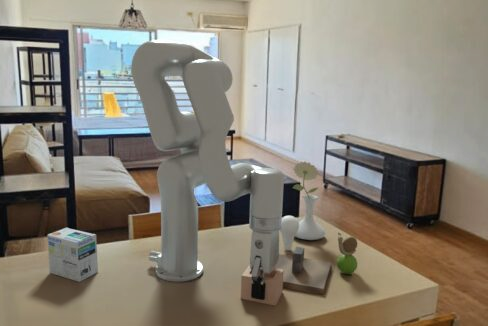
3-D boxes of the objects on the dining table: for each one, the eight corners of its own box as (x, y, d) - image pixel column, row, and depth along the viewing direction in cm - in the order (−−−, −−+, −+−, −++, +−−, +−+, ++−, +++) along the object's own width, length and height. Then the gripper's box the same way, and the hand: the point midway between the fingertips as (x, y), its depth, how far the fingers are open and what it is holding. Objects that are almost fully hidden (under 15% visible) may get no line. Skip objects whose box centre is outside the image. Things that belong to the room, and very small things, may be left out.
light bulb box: (98, 272, 115) (97, 233, 113) (79, 283, 109) (77, 242, 107) (68, 263, 119) (66, 226, 117) (48, 273, 113) (46, 234, 111)
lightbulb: (298, 254, 130) (300, 219, 128) (278, 254, 130) (279, 219, 128) (296, 246, 136) (298, 213, 134) (276, 245, 136) (278, 212, 134)
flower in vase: (331, 237, 145) (337, 163, 140) (311, 246, 137) (317, 168, 132) (299, 226, 154) (304, 157, 149) (279, 234, 146) (283, 161, 141)
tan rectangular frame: (275, 305, 102) (277, 281, 101) (240, 298, 104) (241, 275, 103) (282, 292, 108) (283, 269, 107) (249, 285, 111) (250, 263, 109)
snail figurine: (329, 270, 121) (332, 229, 118) (348, 267, 123) (352, 226, 121) (340, 279, 116) (344, 236, 113) (360, 275, 118) (364, 233, 116)
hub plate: (260, 282, 112) (261, 257, 111) (275, 258, 127) (276, 235, 126) (322, 294, 108) (325, 268, 106) (330, 267, 123) (332, 244, 121)
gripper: (271, 236, 93) (268, 312, 97) (289, 212, 109) (285, 278, 113) (238, 231, 95) (235, 305, 99) (260, 208, 111) (257, 273, 115)
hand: (262, 290), depth 106 cm, fingers closed on tan rectangular frame, 6 cm apart
